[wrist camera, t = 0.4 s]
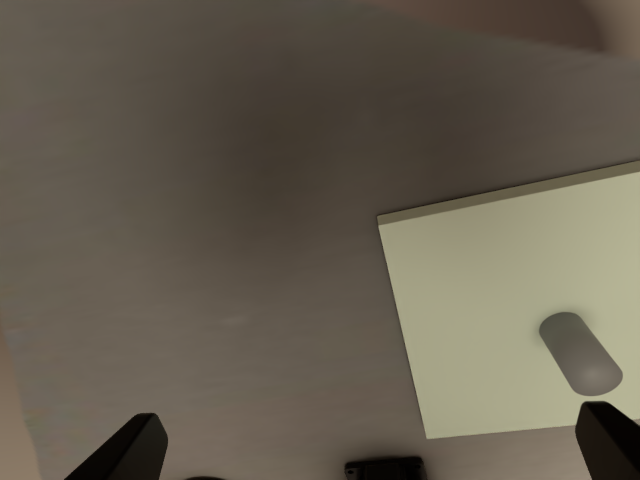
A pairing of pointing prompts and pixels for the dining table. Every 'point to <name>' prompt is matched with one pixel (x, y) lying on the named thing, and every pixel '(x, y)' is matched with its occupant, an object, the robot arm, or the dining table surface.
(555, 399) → the pale green base plate
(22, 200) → the dining table surface
